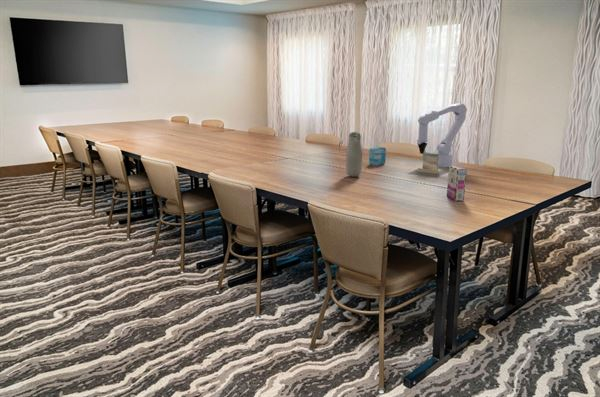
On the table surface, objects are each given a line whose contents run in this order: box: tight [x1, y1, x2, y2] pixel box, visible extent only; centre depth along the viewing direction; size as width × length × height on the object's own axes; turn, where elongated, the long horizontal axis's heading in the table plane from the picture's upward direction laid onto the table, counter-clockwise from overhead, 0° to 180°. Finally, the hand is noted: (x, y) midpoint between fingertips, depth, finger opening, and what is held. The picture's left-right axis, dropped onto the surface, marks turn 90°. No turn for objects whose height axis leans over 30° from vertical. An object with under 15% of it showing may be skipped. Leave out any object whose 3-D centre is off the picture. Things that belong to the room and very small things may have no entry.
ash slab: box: [421, 151, 439, 170], centre depth 301 cm, size 4×9×12 cm, turn 55°
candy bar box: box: [446, 165, 468, 202], centre depth 237 cm, size 11×5×16 cm, turn 5°
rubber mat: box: [407, 168, 448, 178], centre depth 300 cm, size 21×20×2 cm
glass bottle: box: [345, 131, 364, 178], centre depth 289 cm, size 10×10×28 cm
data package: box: [368, 146, 387, 166], centre depth 330 cm, size 12×4×12 cm, turn 125°
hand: (421, 153), depth 319 cm, fingers closed
